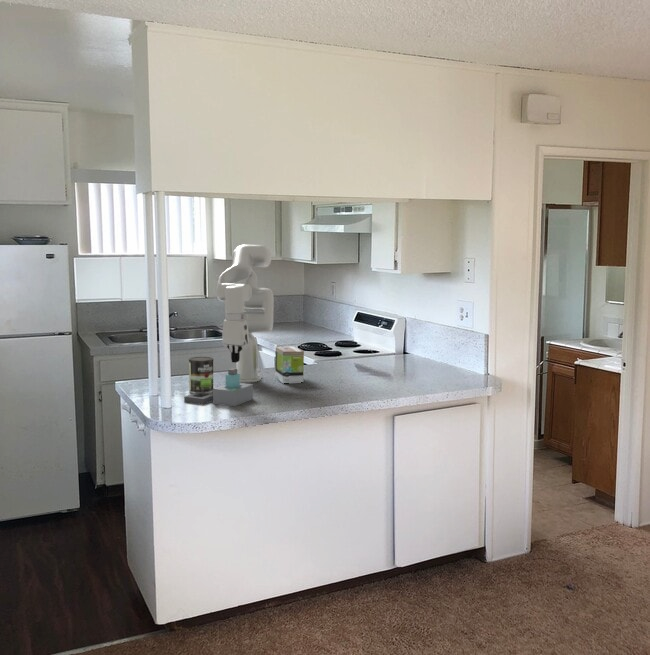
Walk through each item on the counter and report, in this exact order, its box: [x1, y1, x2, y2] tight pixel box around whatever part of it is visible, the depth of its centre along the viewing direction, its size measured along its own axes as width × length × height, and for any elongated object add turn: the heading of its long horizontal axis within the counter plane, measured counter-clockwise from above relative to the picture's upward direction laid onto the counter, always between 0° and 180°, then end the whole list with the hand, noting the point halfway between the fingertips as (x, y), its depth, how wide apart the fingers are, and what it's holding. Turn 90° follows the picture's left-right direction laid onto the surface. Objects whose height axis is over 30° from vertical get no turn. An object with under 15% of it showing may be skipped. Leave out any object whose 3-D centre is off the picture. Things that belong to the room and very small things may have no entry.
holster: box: [183, 392, 213, 405], centre depth 284 cm, size 10×9×2 cm
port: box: [212, 382, 254, 407], centre depth 284 cm, size 14×10×6 cm
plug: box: [225, 367, 241, 389], centre depth 283 cm, size 5×4×11 cm
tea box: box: [274, 346, 305, 384], centre depth 324 cm, size 15×10×15 cm, turn 18°
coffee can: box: [188, 356, 214, 394], centre depth 300 cm, size 10×10×14 cm
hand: (235, 361), depth 286 cm, fingers closed
